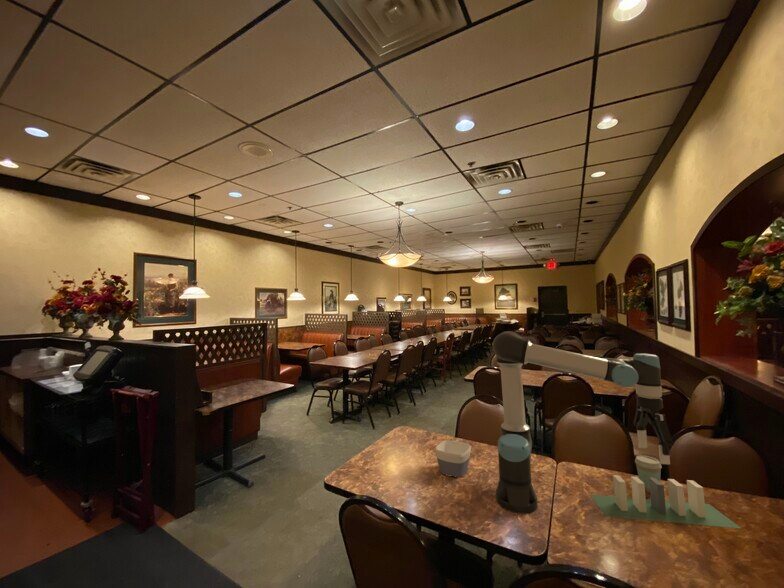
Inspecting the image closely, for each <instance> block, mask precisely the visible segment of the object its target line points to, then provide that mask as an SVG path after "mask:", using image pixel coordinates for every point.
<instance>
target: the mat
mask: <svg viewBox="0 0 784 588" xmlns="http://www.w3.org/2000/svg"><path fill="white" fill-rule="evenodd" d="M589 496H590V497H591V499H592V500H593V501H594V503H595V504H596V505H597V506H598V508H599V510H600V511H601V512H602V513H603V515H604V516H605V517H608V518H609V517H611V518H621V519H622V518H623V519H631V520H643V521H652V522H653V521H654V522H664V523H666V522H667V523H675V524H684V525H685V524H687V525H697V526H709V527H720V528H729V529H730V528H731V529H742V527H741V526H739V525H738V524H736V523H735V522H734V521H732V520H731V519H730V518H728V517H727V516H725V515H724V514H723V513H721V512H720V511H719V510H718V509H716V507H713V505H712V504H710V503H705V512H706V518H702V517H698V516H697V515H696V514H695V513H694V512H692V511H691V510H690V509H689V502H687V501H685V512H686V516H679V515H678V514H677V513H676V512H675V511H674V510H673V509H671V508H670V501H669V500H667V499H665V506H666V514H659V513H658V512H657V511H656V510H655V509H654V508H653V507H652V506H651V498H646V510H647V513H645V512H640V511H639V510H638V509H637V508H636V507H635V506H634V505H633V499H632V497H627V507H628V511H622V510H621V509H620V508H619V507H618V506H617V504H616V503H615V497H614V496H613V495H600V494H589Z"/></svg>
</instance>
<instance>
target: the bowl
mask: <svg viewBox="0 0 784 588" xmlns="http://www.w3.org/2000/svg"><path fill="white" fill-rule="evenodd" d="M471 450H472V446H471V445H470V444H468V443H465V442H462V441H456V440H447V439H446V440H443V441H441V442H440V443H438V444H437V445H436V447H435V449H434V451H435V456H436V460H437V463H438V464H437V465H438V467H439V471H441V472H442V473H444V474H447V475H451V476H456V477H460V478H462V477H463V475H464V474H465V473H466V474H467V472H468V468H469V462H470V455H471V453H472V452H471ZM441 472H440V473H441ZM442 473H441V474H442ZM444 474H443V475H444ZM466 474H465V475H466ZM447 475H446V476H447ZM465 475H464V476H465ZM451 476H450V477H451ZM461 476H462V477H461ZM456 477H455V478H456Z"/></svg>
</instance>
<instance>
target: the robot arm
mask: <svg viewBox="0 0 784 588" xmlns="http://www.w3.org/2000/svg"><path fill="white" fill-rule="evenodd" d="M492 350H493V353H494V354H495V357H496V358H495V359H496V364H497V365H498V366H499V367H500V379H501V393H502V394H501V395H502V404H503V405H502V406H503V407H502V408H503V421H504V422H502V423H501V424H500V425H501V426H500V427H501V429H500V430H501V435H500V437H499V438H498V440H497V453H498V472H499V474H498V475H499V476H498V478H499V480H498V483H497V485H496V489H495V501H496V503H497V504H498V505H499V506H500V507H501V508H503V509H505V510H507V511H510V512H513V513H517V514H529V513H533V512H534V511H537V508H538V496H537V495H536V492H535V489H534V486H533V483H532V471H531V470H532V469H531V457H532V456H531V455H532V448H533V440H532V437H531V427H530V425H528V424H527V423H526V411H525V410H526V409H525V399H524V398H525V397H524V387H523V373H522V372H523V370H522V366H523V365H527V364H528V363H529V364H533V365H538V366H542V367H546V368H550V369H554V370H559V371H563V372H568V373H572V374H575V375H581V376H584V377H588V378H594V379H597V380H601V381H604V382H608V383H613V384H616V385H618V386H620V387H622V388H623V387H624V388H630V387H633V386H635V394H636V405H635V407H636V408H635V414H634V419H633V423H632V424H633V427H635V430H636V434H637V435H636V436H637V445H638V448H639V449H648V438H647V425H648V423H649V424H650V426H652V428H653V430H654V432H655V435H656V438H657V439H658V443H657V445H658V454H659V455H658V456H659V457H658V458H659V462H660V464H661V465H671V460H670V459H671V458H670V457H671V456H670V447H671V446H675V445H674V441H673V438H672V434H671V433H670V429H669V426H668V423H667V416H666V414H660V410H662V409H663V408H664V404H663V403H664V402H663V398H662V397H663V392H662V390H663V387H662V380H661V379H662V378H661V365H660V364H661V363H660V357H659V356H658V355H656V354H651V353H634V354H633V358H612V357H602V358H601V357H596V356H592V355H587V354H582V353H578V352H573V351H568V350H564V349H560V348H559V349H558V348H554V347H549V346H546V345H545V346H544V345H541V344H536V343H532V342H531V340H528V339H524V338H523V337H522V336H521V335H520V334H518V333H517V332H515V331H512V330H511V331H509V330H507V331H503V332H501V333H499V334H497V335H496V336H495V337H494V339H493V341H492Z"/></svg>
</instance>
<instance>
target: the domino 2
mask: <svg viewBox="0 0 784 588" xmlns="http://www.w3.org/2000/svg"><path fill="white" fill-rule="evenodd" d="M630 482H631V496H632V497H631V498H632V499H633V505H634V506H635V507H636V508H637V509H638V510H639V511H640V512H645V513H647V510H646V499H647V498H646V491H645V485H644V483H643V482H642V481H641V480H640V479H639V476H630Z"/></svg>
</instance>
